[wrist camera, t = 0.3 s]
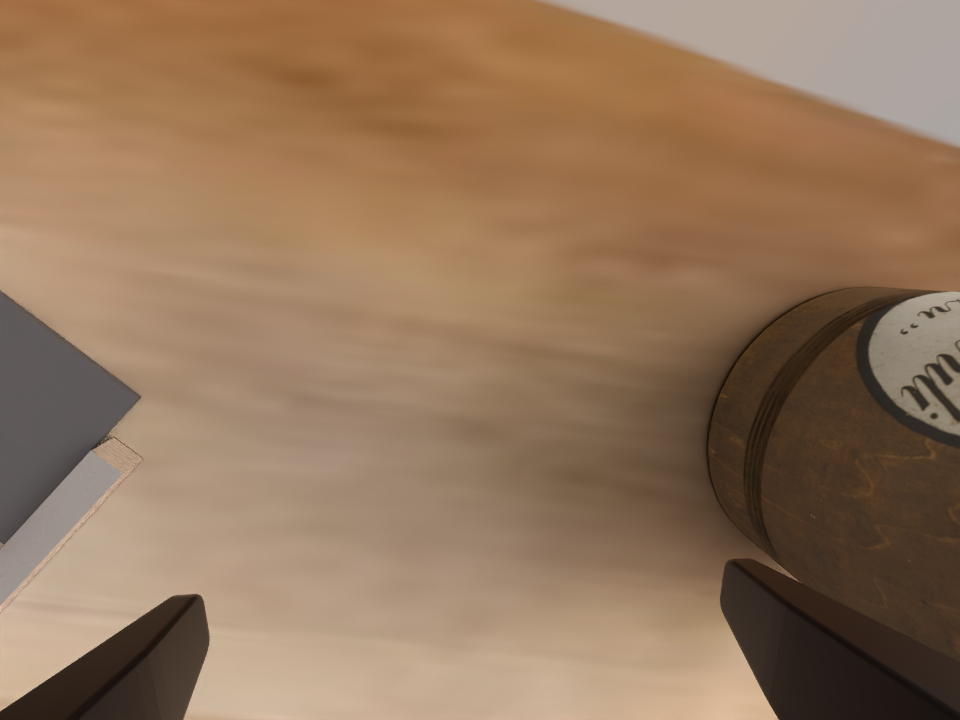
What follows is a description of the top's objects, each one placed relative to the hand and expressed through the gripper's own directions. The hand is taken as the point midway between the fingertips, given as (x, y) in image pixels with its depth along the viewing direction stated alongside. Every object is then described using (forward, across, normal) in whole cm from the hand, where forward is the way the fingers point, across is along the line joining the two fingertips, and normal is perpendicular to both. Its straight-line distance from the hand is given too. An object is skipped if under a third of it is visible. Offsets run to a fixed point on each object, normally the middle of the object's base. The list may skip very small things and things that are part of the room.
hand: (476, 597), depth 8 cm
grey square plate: (+14, +20, +1) cm, 24 cm away
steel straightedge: (+14, +20, +9) cm, 26 cm away
